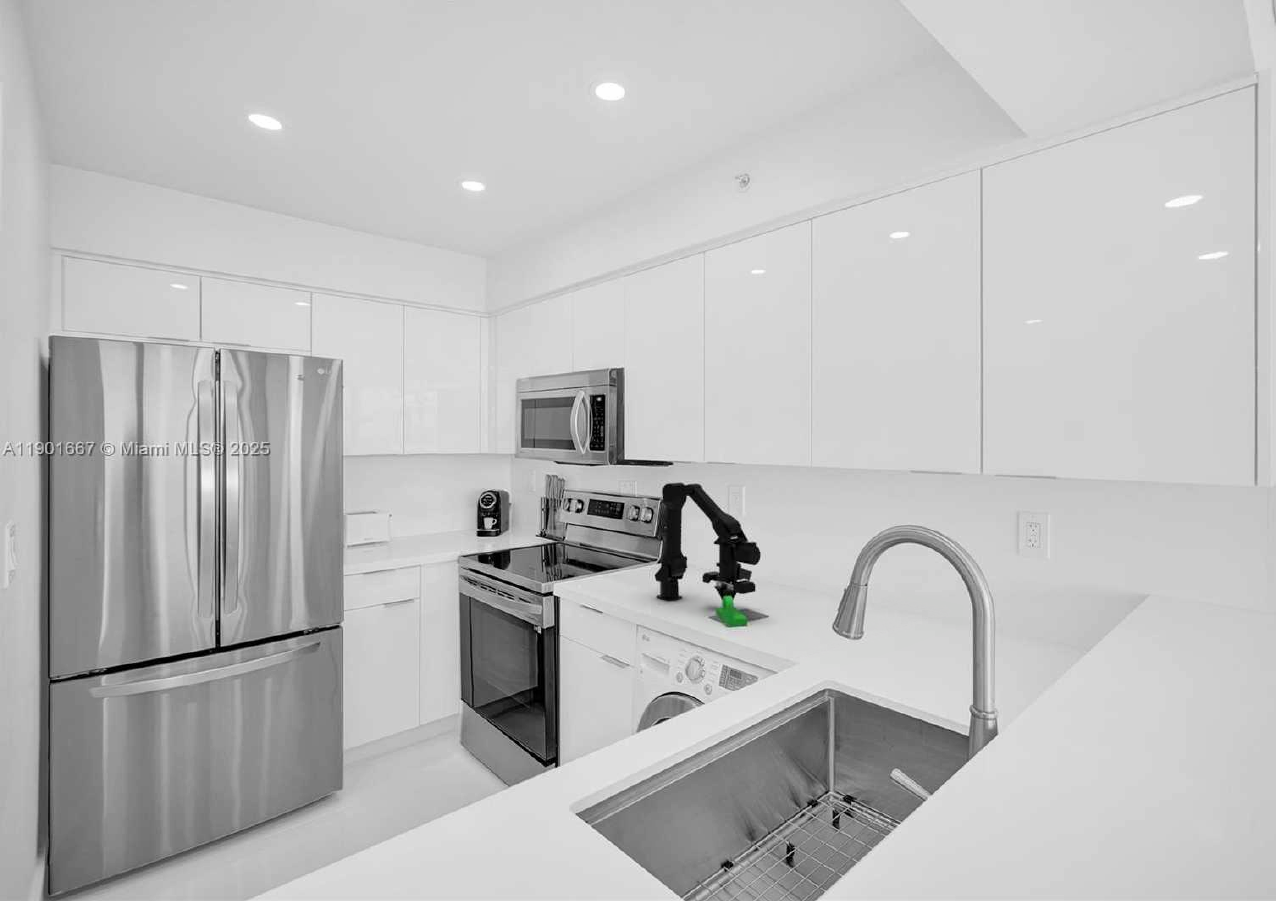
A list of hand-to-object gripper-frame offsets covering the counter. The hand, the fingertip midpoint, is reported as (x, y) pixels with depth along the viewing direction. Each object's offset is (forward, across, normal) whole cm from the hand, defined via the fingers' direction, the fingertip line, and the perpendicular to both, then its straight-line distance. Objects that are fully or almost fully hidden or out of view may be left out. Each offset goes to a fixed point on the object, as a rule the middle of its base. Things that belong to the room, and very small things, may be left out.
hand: (728, 609), depth 194 cm
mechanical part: (+1, -6, +4) cm, 7 cm away
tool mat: (+1, -5, 0) cm, 5 cm away
